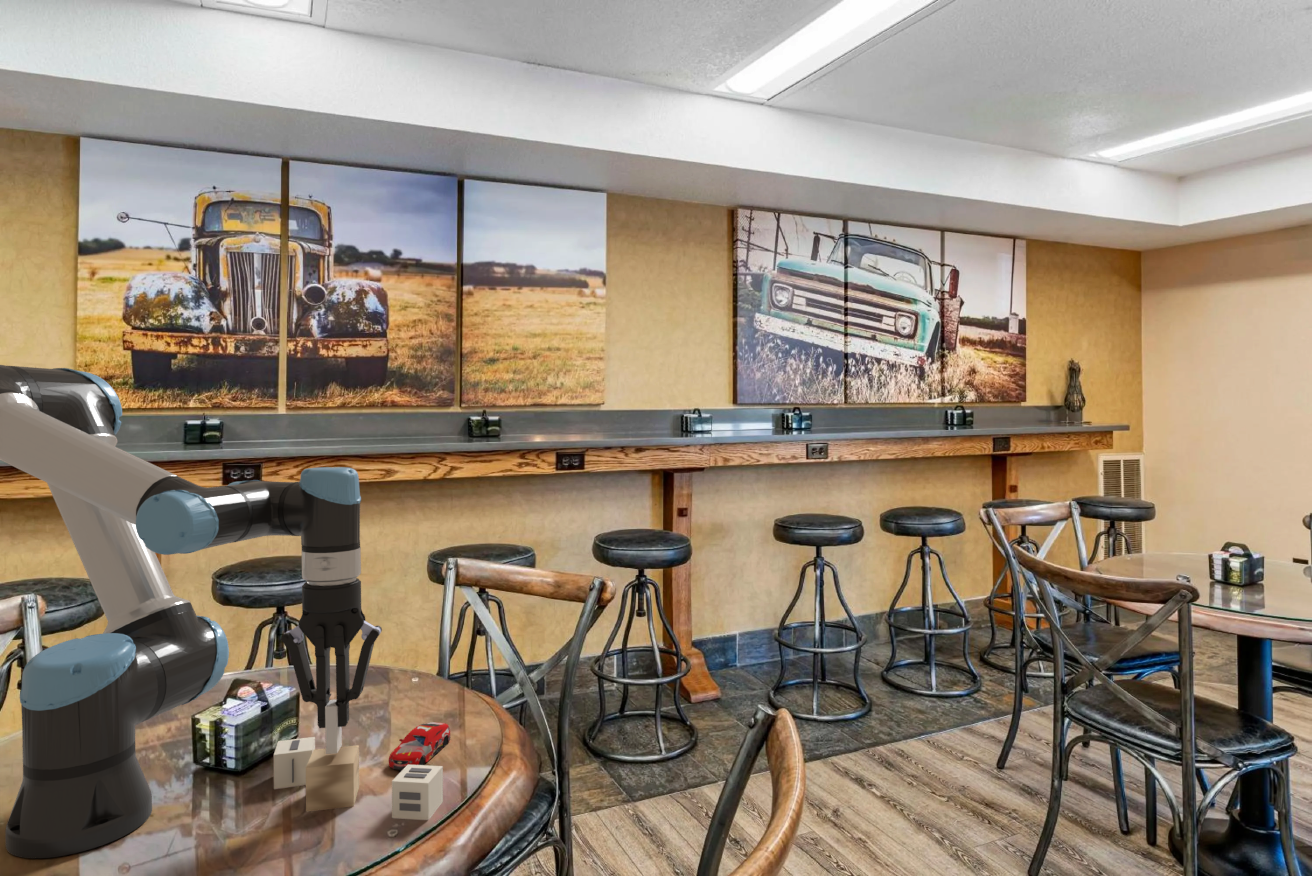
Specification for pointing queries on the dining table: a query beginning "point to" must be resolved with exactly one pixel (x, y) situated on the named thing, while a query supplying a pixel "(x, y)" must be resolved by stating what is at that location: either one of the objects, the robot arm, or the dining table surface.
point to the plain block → (332, 779)
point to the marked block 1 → (292, 762)
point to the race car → (420, 745)
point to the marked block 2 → (417, 792)
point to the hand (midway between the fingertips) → (333, 749)
